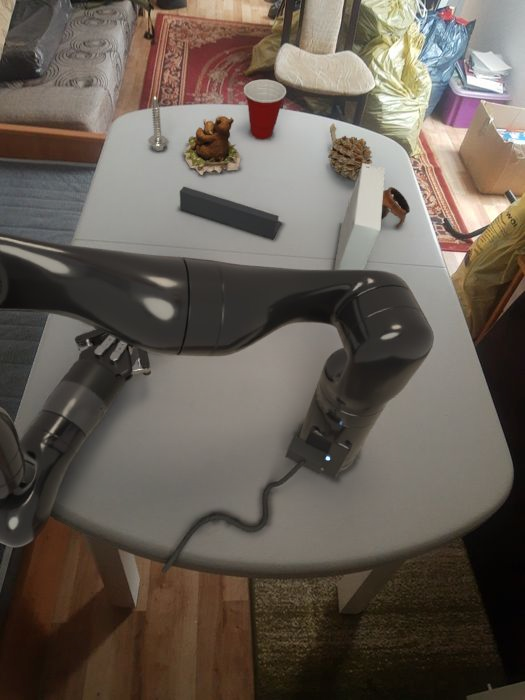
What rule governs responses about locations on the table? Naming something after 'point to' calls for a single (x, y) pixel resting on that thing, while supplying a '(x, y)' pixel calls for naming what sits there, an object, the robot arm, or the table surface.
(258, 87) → the plastic cup
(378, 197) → the skincare box
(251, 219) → the stop rail
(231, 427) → the table surface
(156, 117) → the screw
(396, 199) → the brown round legged piece
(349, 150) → the pine cone
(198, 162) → the bear figurine
